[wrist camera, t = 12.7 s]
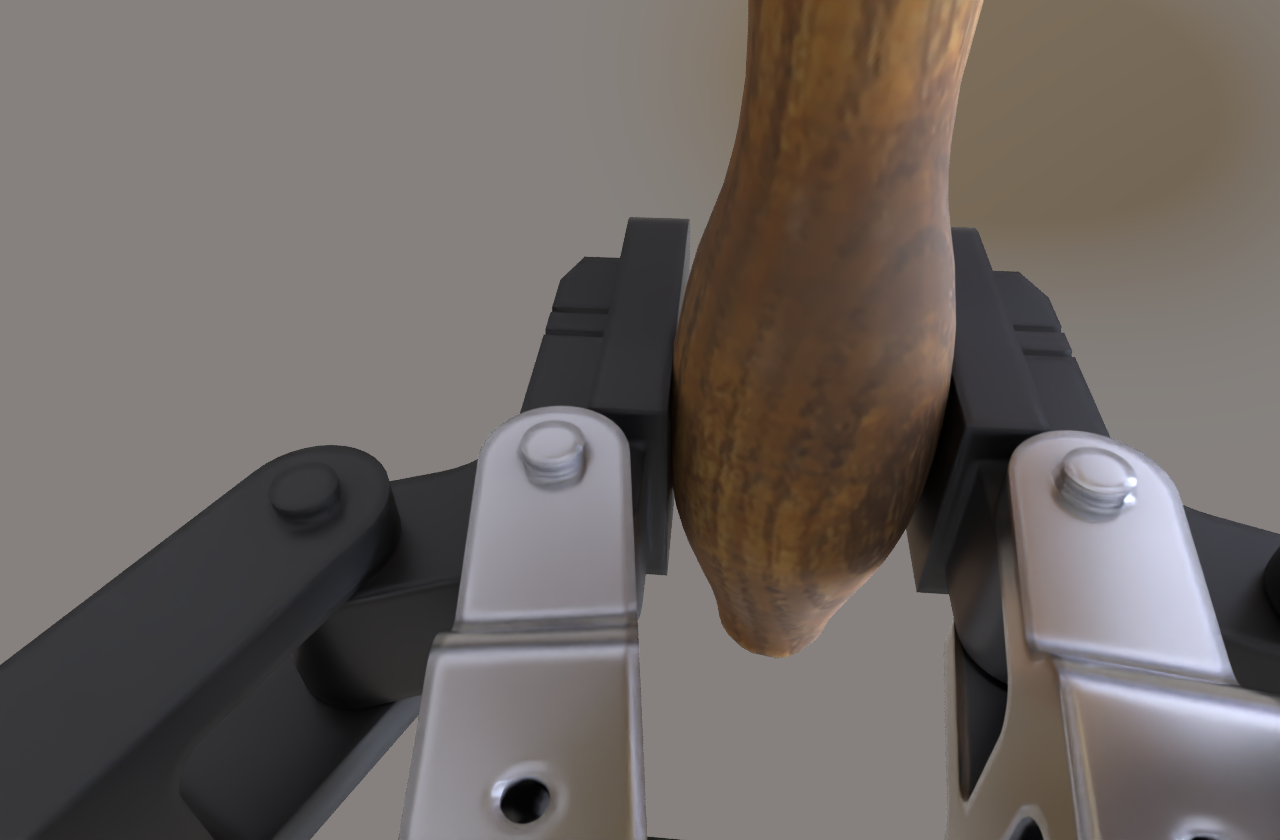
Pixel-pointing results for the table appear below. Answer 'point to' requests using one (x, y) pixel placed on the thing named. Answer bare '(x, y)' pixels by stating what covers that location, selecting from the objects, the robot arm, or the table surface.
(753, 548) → the hand bell
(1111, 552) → the robot arm
